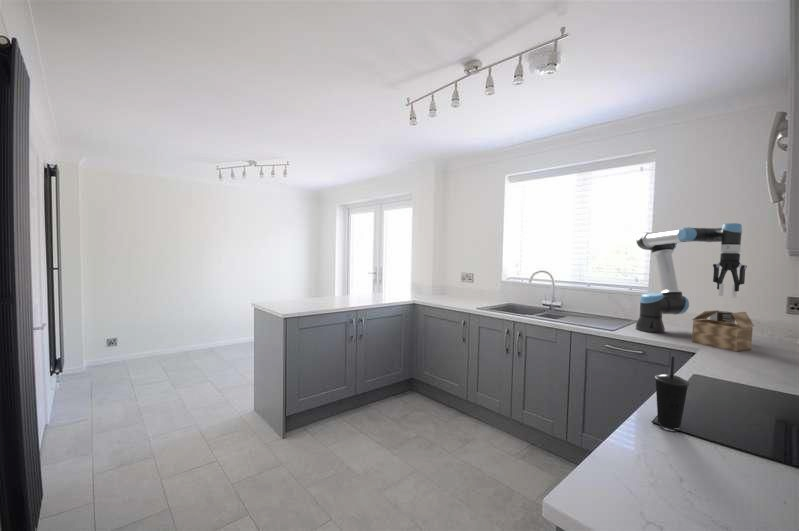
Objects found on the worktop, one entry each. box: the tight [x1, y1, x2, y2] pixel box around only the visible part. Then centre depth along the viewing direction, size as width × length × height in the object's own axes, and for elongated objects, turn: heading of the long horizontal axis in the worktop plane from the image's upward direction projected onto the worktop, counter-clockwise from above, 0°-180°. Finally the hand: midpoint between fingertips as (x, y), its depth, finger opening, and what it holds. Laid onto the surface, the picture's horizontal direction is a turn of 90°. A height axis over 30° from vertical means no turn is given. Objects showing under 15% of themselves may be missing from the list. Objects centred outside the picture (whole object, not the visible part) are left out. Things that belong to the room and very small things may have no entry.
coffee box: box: [709, 310, 736, 324], centre depth 205 cm, size 9×6×16 cm
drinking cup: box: [654, 356, 690, 428], centre depth 98 cm, size 8×8×20 cm
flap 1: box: [691, 309, 719, 321], centre depth 197 cm, size 8×13×1 cm
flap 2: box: [731, 311, 755, 328], centre depth 182 cm, size 8×13×1 cm
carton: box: [691, 318, 754, 353], centre depth 190 cm, size 20×13×12 cm, turn 23°
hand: (727, 296), depth 188 cm, fingers open, 5 cm apart
